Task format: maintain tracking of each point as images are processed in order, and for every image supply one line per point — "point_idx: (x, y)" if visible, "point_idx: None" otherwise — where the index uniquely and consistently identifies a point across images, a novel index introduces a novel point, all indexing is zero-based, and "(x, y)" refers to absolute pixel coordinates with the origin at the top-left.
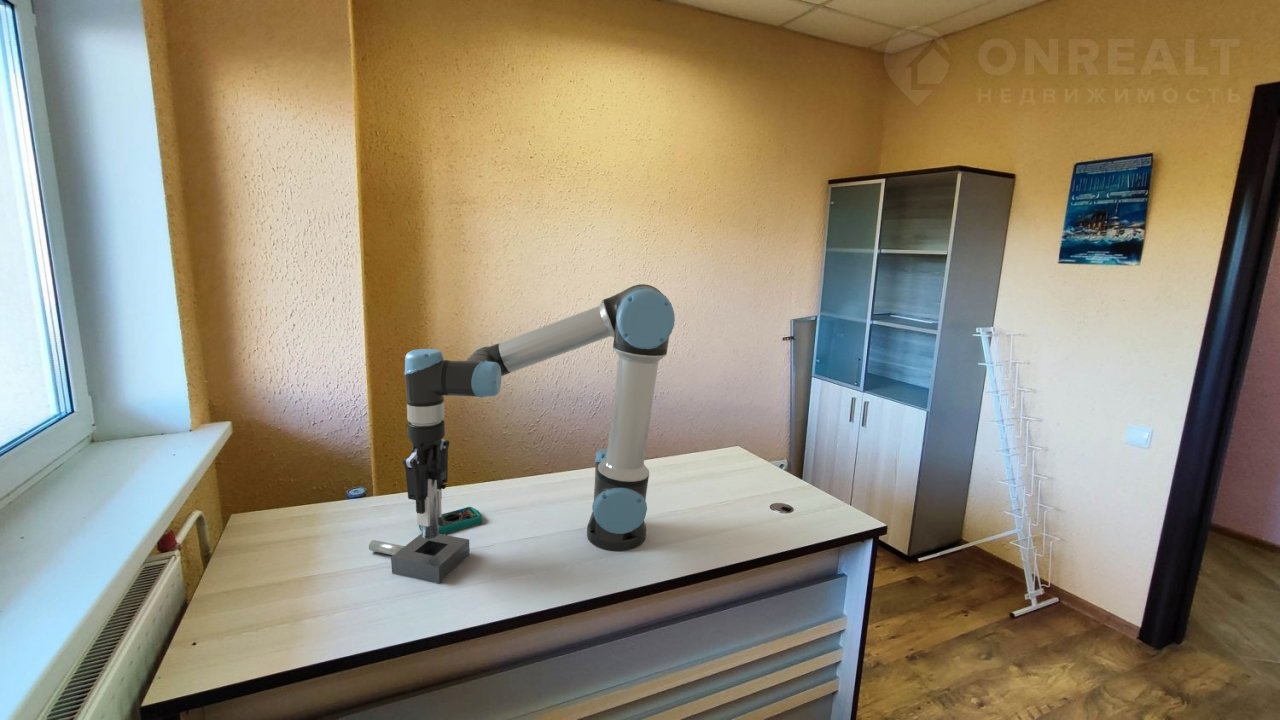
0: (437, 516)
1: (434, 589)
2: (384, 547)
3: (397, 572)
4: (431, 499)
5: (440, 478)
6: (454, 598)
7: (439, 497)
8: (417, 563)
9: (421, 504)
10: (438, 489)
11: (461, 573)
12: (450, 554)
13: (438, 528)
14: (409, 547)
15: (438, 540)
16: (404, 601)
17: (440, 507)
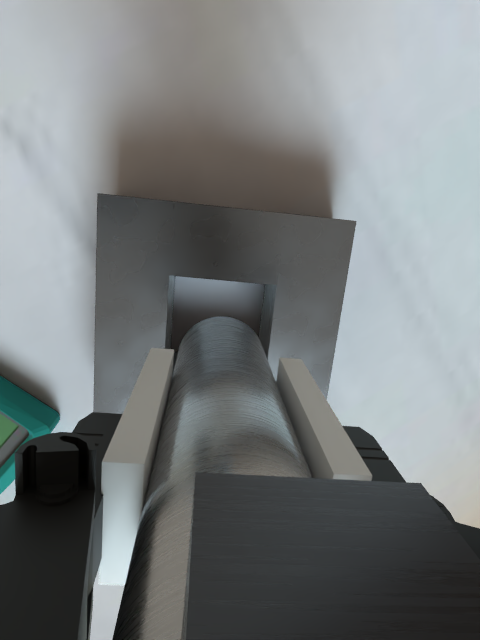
0: (214, 352)
1: (368, 219)
2: None
3: None
4: (291, 448)
5: (449, 562)
6: (410, 114)
7: (149, 420)
8: (338, 326)
9: (402, 481)
10: (105, 489)
11: (251, 166)
12: (249, 219)
13: (6, 407)
14: None
15: (150, 334)
16: (444, 284)
17: (152, 375)
